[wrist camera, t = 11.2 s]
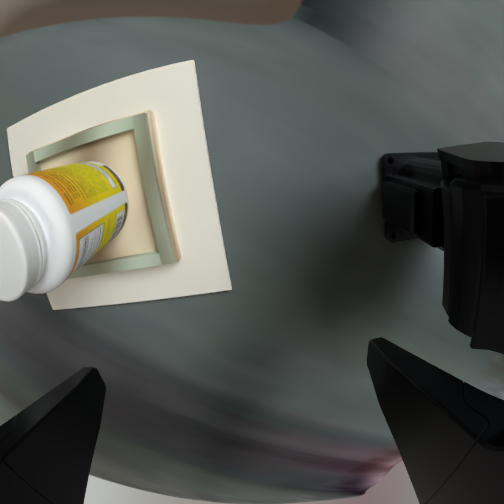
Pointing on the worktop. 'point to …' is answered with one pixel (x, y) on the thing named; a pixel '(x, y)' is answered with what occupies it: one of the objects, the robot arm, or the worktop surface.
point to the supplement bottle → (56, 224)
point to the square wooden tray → (137, 185)
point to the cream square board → (176, 176)
